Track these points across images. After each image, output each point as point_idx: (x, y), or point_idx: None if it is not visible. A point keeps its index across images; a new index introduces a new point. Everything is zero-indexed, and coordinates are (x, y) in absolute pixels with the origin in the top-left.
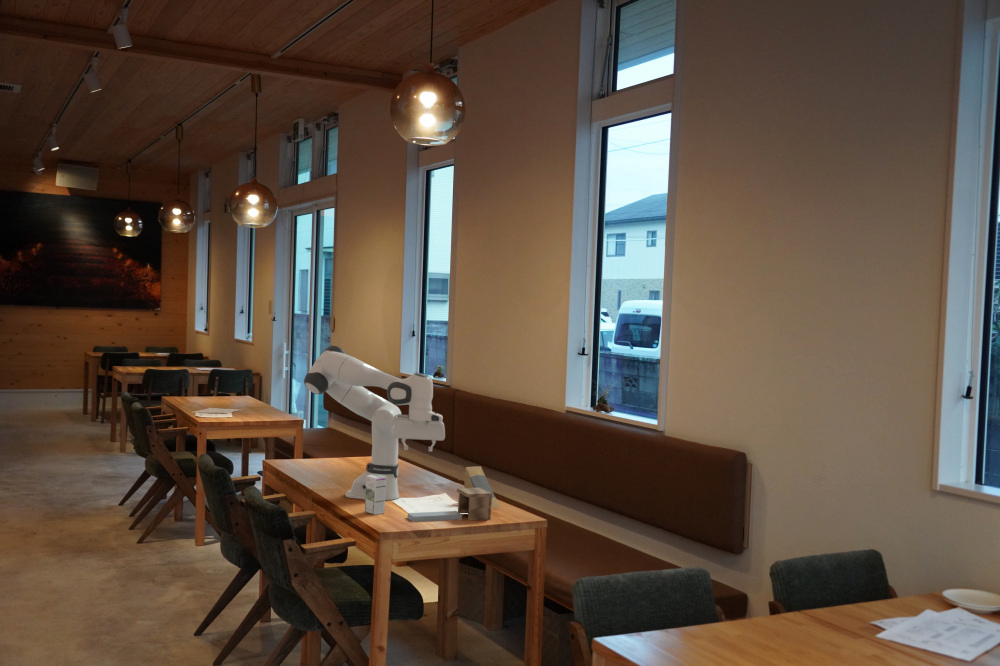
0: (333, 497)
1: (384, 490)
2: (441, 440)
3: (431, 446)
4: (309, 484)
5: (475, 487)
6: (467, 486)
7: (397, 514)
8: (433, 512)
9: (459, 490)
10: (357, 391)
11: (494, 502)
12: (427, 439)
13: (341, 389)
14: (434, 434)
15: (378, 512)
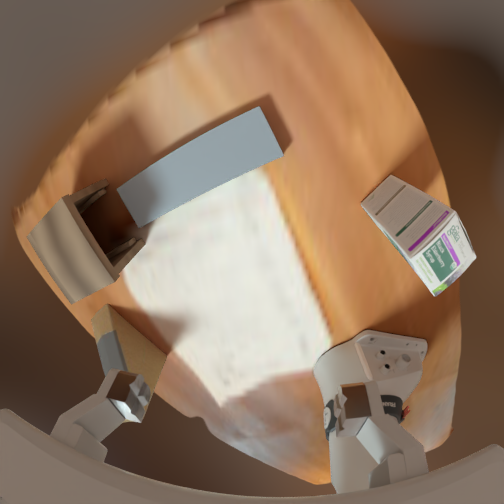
0: (448, 332)
1: (391, 227)
2: (9, 410)
3: (99, 401)
4: (450, 390)
5: (121, 361)
6: (145, 376)
7: (319, 196)
8: (197, 187)
9: (102, 260)
10: None
11: (96, 328)
12: (101, 465)
13: None
14: (26, 478)
15: (379, 187)
